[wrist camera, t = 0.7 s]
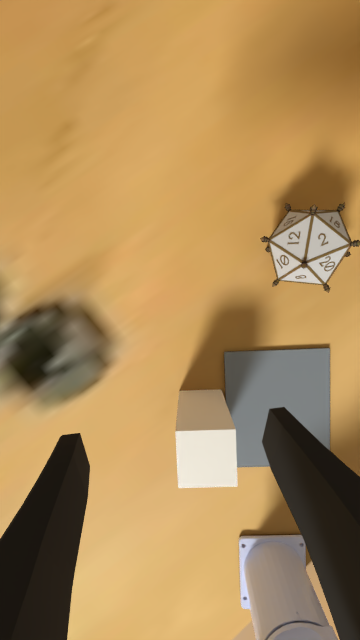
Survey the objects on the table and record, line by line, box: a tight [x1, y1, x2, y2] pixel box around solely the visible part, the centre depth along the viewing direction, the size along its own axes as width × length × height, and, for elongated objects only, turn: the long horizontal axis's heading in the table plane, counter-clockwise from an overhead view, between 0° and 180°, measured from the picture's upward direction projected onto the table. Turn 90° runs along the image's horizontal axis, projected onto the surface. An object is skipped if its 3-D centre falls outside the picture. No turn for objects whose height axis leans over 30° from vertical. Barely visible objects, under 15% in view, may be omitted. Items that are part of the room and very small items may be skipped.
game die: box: [260, 203, 360, 293], centre depth 27 cm, size 9×8×10 cm
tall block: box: [176, 389, 237, 488], centre depth 28 cm, size 5×5×10 cm
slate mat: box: [224, 348, 330, 467], centre depth 33 cm, size 14×12×1 cm
